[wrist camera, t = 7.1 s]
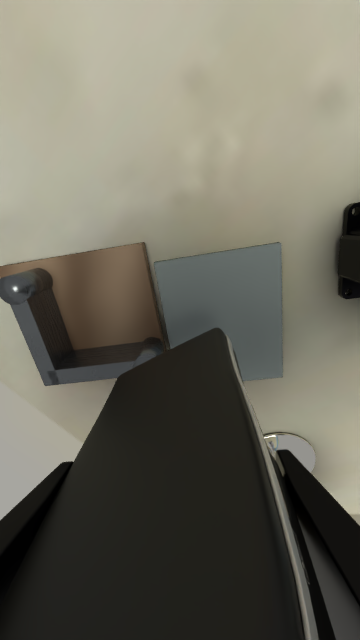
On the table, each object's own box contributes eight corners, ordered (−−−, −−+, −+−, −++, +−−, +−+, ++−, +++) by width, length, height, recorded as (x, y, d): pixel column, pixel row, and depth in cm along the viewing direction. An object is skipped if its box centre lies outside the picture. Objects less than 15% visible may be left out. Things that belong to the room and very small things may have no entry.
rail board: (144, 242, 18) (141, 243, 17) (168, 360, 21) (167, 366, 20) (5, 265, 19) (-4, 267, 18) (50, 374, 22) (44, 381, 21)
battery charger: (150, 419, 15) (44, 870, 5) (114, 374, 14) (-132, 830, 4) (254, 375, 14) (461, 920, 3) (222, 319, 12) (374, 873, 2)
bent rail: (144, 250, 17) (134, 255, 14) (165, 355, 20) (161, 378, 17) (25, 269, 18) (-9, 278, 15) (62, 367, 21) (41, 391, 18)
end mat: (278, 242, 17) (281, 242, 17) (280, 373, 21) (282, 377, 21) (154, 261, 18) (153, 263, 18) (178, 383, 22) (178, 388, 22)
